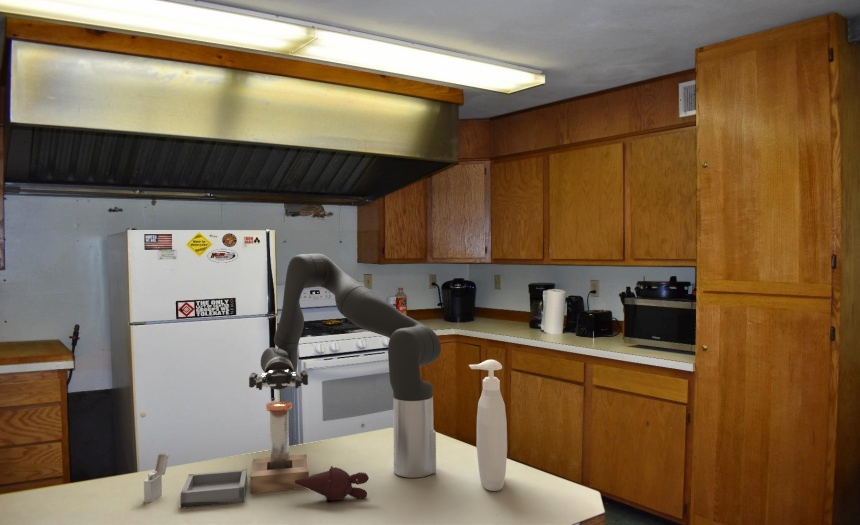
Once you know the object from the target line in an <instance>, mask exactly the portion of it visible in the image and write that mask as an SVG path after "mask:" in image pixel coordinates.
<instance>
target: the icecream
mask: <svg viewBox="0 0 860 525" xmlns="http://www.w3.org/2000/svg"><path fill="white" fill-rule="evenodd" d="M369 479H370V478H369V476H368V474H367V473H366V472H363V471H362V472H357V473H353V474H349V473H348V472H347V471H345V470H344V469H342V468H340V467H337V466H336V467H334V466H333V465H331V466H330V468H329V469H328V470H325V471H323V472H319V473H316V474H312V475H308V477H304V478H301V479H297V480H295V483H296V484H298V485H301V486H303V487H305V488H304V489H308V490H310V491H312V492H314V493H317V494H319V495H321V496H324V497H325V502H326V503H329V501H331V502H333V501H340V500H341V499H342V500H343V499H344V498H346V496H348V495H349V496H350V497H353V498H355V499H365V498H367V497H368V492H367V490H366V489H364V488H361V487H356V486H353V485H354V484H355V485H364V484H365V483H367V482H368V481H369Z"/></svg>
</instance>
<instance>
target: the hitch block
mask: <svg viewBox="0 0 860 525" xmlns="http://www.w3.org/2000/svg"><path fill="white" fill-rule="evenodd" d="M251 463H252V464H251V470H250V478H249V479H250V480H249V483H250V485H249V486H250V491H249V493H250V494H258V493H259V494H260V493H267V492H278V491H279V492H280V491H287V490H288V491H289V490H299V489H306V488H305V487H303V486H301V485H298V484H296V483H295V480H297V479H301V478H304V477H308V476H309V465H308V458H307V454H305V453H304V454H293V455H289V468H286V469H274V470H271V467H270V456H269V457H257V458H252V462H251Z"/></svg>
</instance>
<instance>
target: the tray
mask: <svg viewBox="0 0 860 525" xmlns="http://www.w3.org/2000/svg"><path fill="white" fill-rule="evenodd" d="M247 487H248V469H247V468H246V469H245V468H244V469H234V470H224V471H213V472H212V471H211V472H200V473H189V474H188V475H187V478H186V480H185V483H184V485H183V487H182V489H181V491H180V509H187V508H198V507H208V506H218V505H227V504H228V505H229V504H238V503H239V504H240V503H244V502H245V499H246V493H247V492H246V491H247Z"/></svg>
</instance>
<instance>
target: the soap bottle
mask: <svg viewBox="0 0 860 525" xmlns="http://www.w3.org/2000/svg"><path fill="white" fill-rule="evenodd" d="M468 367H469V368H470V369H471V370H484V371H488V376H485V377H484V379H482V391H481V395H480V398H479V400H478V403H477V413H476V456H477V465H478V473H479V478H480V482H481V484H482V486H483V488H484V489H486V490H487V491H492V492H497V491H500V490H502V488H503V487H504V484H505V480H506V479H505V477H506V472H507V459H508V458H507V457H508V456H507V455H508V432H507V431H508V428H507V427H508V426H507V412H506V404H505V402H504V399H503V396H502V392H501V389H500V388H501V385H500V383H501V382H500V379H499V378H498V377H496V376H494V374H495V372H494V371H499V370H502V369H503V365H502V363H500V362H499V361H497V360H496V359H487V360H484V361H482V362H481V363H478V364H477V363H476V364H468Z"/></svg>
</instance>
